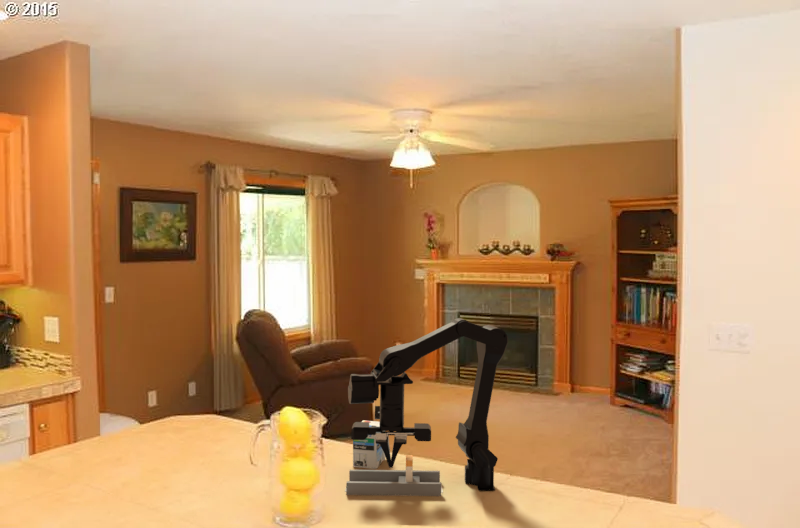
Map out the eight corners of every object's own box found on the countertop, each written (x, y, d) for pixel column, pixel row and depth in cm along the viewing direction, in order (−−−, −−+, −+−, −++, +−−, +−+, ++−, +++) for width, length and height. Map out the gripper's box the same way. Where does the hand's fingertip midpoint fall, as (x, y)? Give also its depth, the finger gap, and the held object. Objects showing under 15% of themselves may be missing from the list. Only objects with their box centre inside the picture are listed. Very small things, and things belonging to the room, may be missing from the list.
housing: (442, 481, 169) (442, 465, 169) (446, 507, 153) (446, 490, 153) (346, 480, 169) (347, 464, 169) (340, 505, 153) (340, 488, 153)
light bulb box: (377, 473, 174) (377, 432, 174) (351, 471, 176) (352, 430, 175) (386, 460, 185) (386, 421, 184) (362, 458, 186) (362, 419, 186)
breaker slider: (419, 483, 164) (419, 453, 164) (419, 493, 158) (420, 462, 158) (398, 483, 164) (398, 453, 164) (398, 493, 158) (398, 461, 158)
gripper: (430, 395, 168) (428, 456, 169) (355, 393, 168) (354, 455, 169) (431, 406, 157) (430, 472, 158) (351, 404, 157) (350, 470, 158)
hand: (390, 467), depth 161 cm, fingers closed
